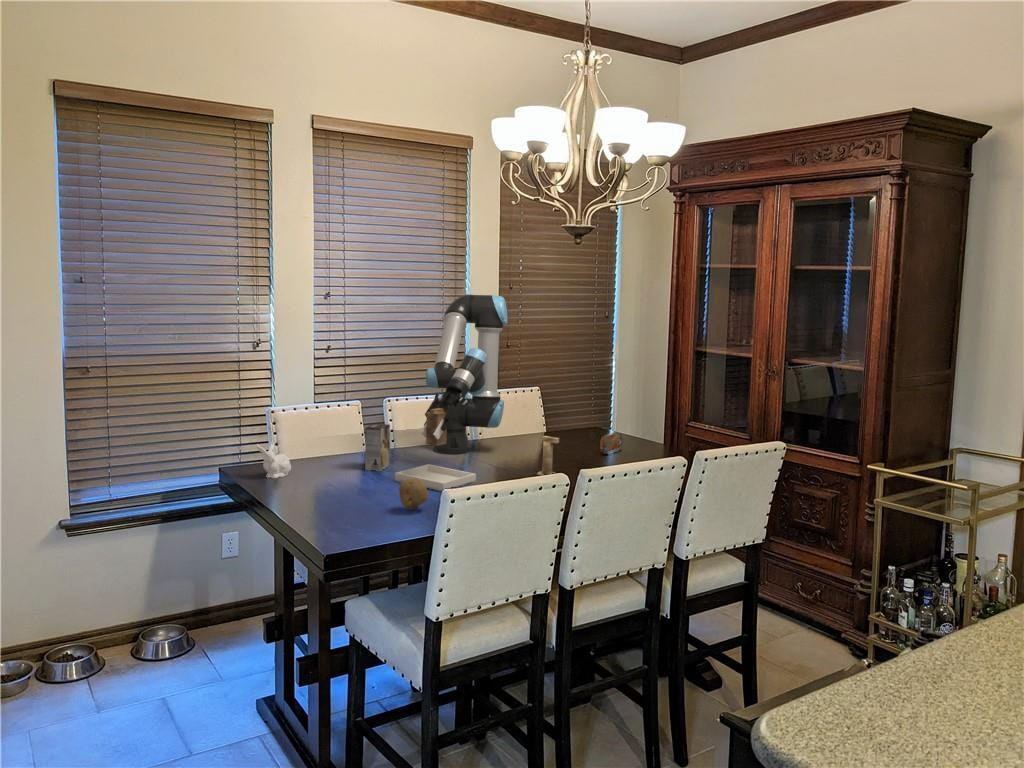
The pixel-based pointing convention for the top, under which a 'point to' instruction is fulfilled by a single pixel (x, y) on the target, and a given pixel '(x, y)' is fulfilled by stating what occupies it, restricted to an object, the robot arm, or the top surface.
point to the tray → (436, 476)
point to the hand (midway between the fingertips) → (429, 435)
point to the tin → (610, 442)
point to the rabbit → (275, 463)
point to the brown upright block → (435, 426)
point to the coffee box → (377, 447)
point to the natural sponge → (413, 493)
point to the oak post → (547, 454)
